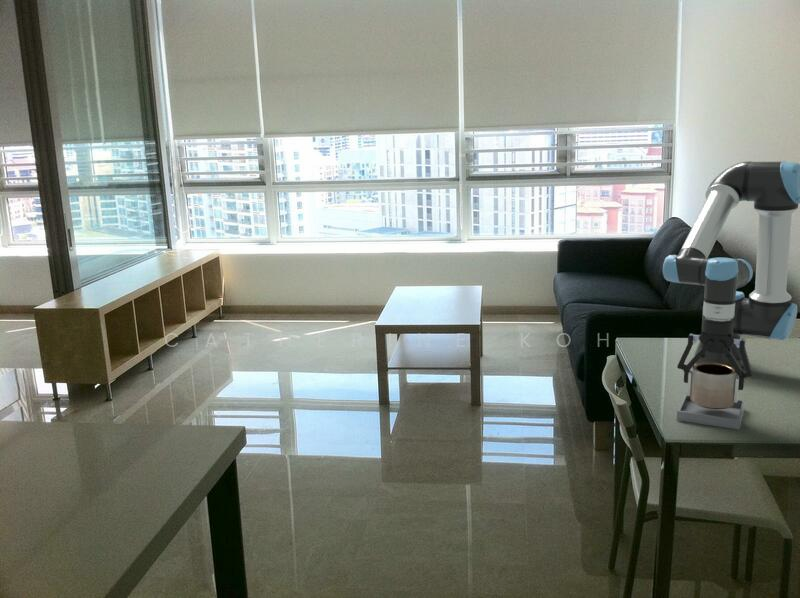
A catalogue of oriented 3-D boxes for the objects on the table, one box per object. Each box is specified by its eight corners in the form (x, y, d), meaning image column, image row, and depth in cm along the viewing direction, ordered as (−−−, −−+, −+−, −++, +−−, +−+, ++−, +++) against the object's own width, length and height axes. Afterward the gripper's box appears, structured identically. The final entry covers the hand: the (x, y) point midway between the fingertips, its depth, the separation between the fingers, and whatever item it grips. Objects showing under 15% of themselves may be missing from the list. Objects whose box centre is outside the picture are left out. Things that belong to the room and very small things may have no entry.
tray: (685, 400, 209) (685, 392, 208) (744, 409, 202) (745, 400, 201) (676, 419, 196) (677, 411, 195) (739, 429, 189) (740, 420, 188)
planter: (738, 411, 192) (741, 376, 190) (694, 409, 194) (697, 374, 191) (728, 396, 202) (731, 362, 200) (686, 394, 204) (688, 361, 202)
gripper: (668, 316, 195) (664, 395, 200) (767, 325, 184) (759, 409, 189) (673, 310, 201) (668, 386, 206) (768, 318, 190) (761, 399, 195)
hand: (712, 397), depth 198 cm, fingers closed on planter, 11 cm apart
